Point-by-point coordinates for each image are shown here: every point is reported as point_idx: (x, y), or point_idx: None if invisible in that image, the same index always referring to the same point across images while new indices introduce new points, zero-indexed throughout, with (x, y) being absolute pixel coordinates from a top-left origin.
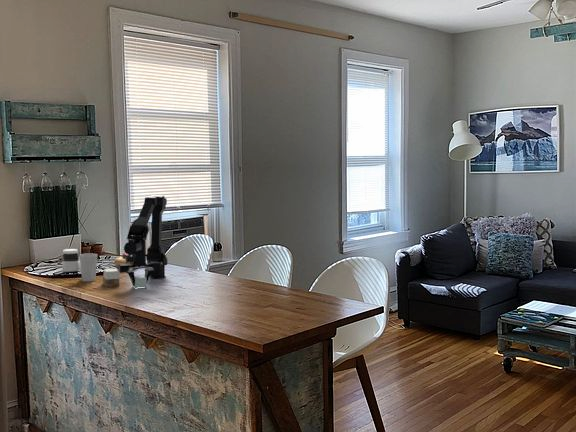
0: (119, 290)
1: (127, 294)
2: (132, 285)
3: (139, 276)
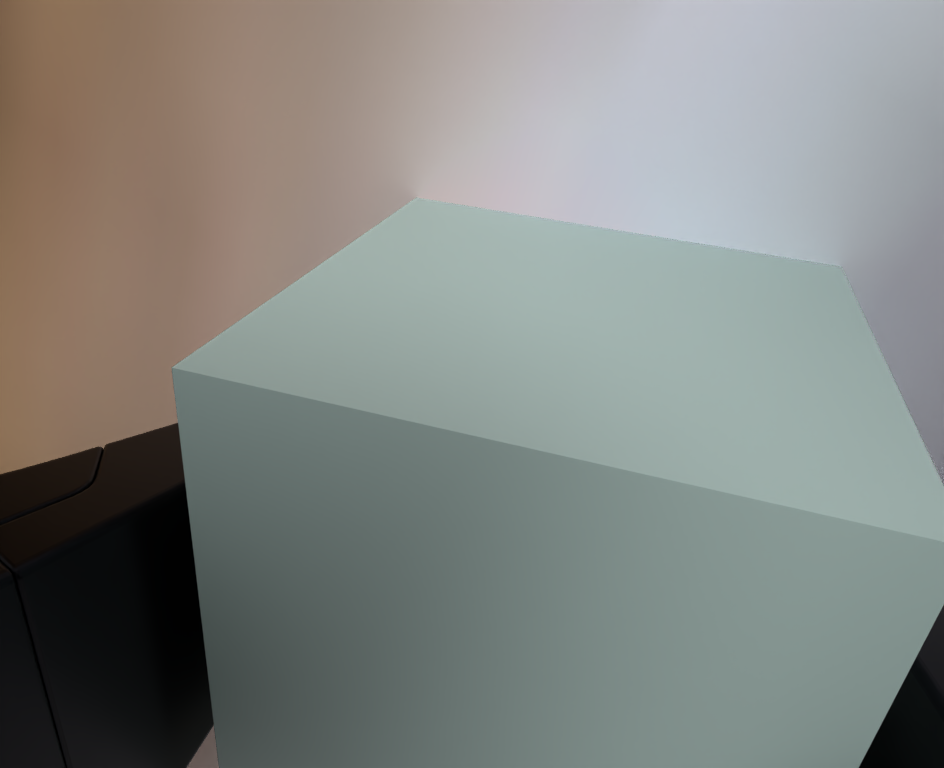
0: (17, 361)
1: None
2: (392, 217)
3: (542, 638)
